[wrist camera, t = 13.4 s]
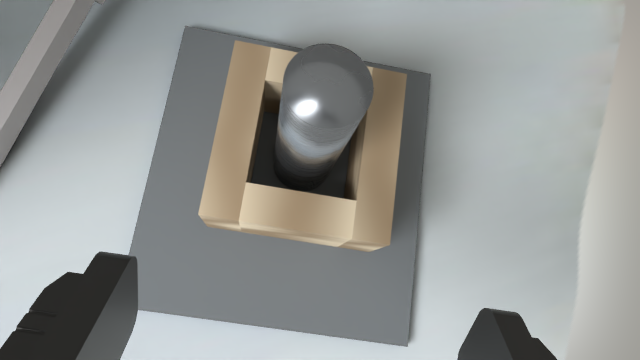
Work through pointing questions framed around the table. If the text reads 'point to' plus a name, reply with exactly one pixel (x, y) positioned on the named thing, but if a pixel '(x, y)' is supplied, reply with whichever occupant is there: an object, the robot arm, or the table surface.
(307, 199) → the wooden square frame
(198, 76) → the mat
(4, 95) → the caliper
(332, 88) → the ball
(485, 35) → the table surface
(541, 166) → the table surface
